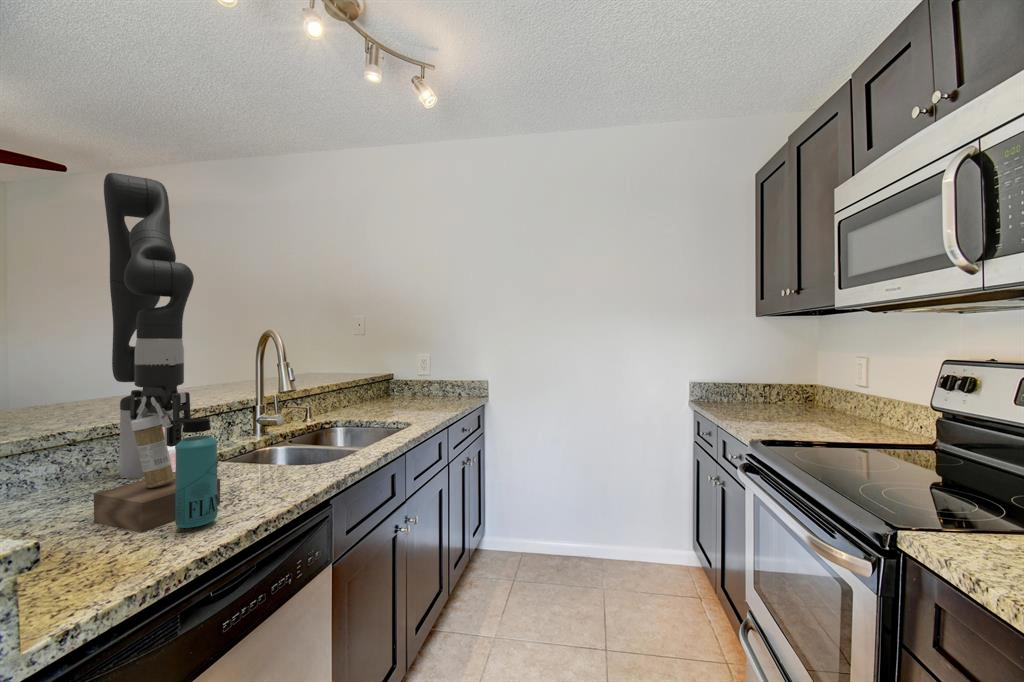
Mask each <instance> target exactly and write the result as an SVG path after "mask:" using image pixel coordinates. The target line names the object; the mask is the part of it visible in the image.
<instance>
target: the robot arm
mask: <svg viewBox="0 0 1024 682" xmlns="http://www.w3.org/2000/svg"><path fill="white" fill-rule="evenodd" d="M103 196H104V206H105V214H106V215H105V216H106V224H107V234H108V243H109V287H110V288H109V290H110V299H111V311H112V354H111V355H112V357H111V369H112V370H111V371H112V374H113V375H112V376H113V378H114V379H115V381H116V382H119V383H134V386H135V387H138V388H142V389H133V390H131V391H130V395H127V396H124V397H122V398H121V400H120V402H119V439H118V444H119V445H118V450H119V451H118V456H119V457H118V474H119V477H120V479H123V478H126V480H132V478H135V479H143V478H145V477H144V472H143V470H142V466H141V461H140V457H139V453H138V449H137V443H136V438H135V434H134V432H133V430H132V427H131V422H132V421H134V420H136V419H140V418H144V417H149V416H154V415H159V416H160V418H161V419H162V425H163V426H162V427H165V440H166V444H167V446H169V447H173V446H176V445H177V444H178V443H179V442H180V441H181V440H182V429H183V422H184V421H185V420H189V419H192V418H191V397H190V396H191V395H190V392H189V391H184V392H178V387H179V386H182V385H184V383H185V349H184V348H185V347H184V343H183V322H184V321H183V319H184V313H185V309H186V308H185V307H186V305H187V302H188V300H189V296H190V295H191V292H192V289H193V286H194V283H195V282H194V280H195V278H194V274H193V271H192V269H191V268H190V267H189V265H186V264H185V263H182V262H176V261H177V260H176V259H177V255H176V252H175V247H174V244H173V241H172V237H171V217H170V215H171V213H170V203H169V194H168V192H167V188H166V187H165V185H164V183H162V182H160V181H158V180H156V179H152V178H148V177H141V176H135V175H129V174H124V173H123V174H122V173H116V172H109V173H107V174H106V175H105V177H104V180H103ZM126 217H131V218H139V219H141V220H140V221H138V222H137V223H135V225H134V226H132V228H131V230H129V228H128V225H127V224H126V219H125V218H126ZM161 297H165V298H166V297H169V298H170V299H169V301H168V303H167V304H166V305H163V306H157V305H158V303H160V299H161ZM156 306H157V307H156ZM135 332H136V342H135V346H133V345H132V346H131V345H130V342H131V339H132V337H133V335H134V333H135ZM182 413H183V416H182ZM142 477H143V478H142Z"/></svg>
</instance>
